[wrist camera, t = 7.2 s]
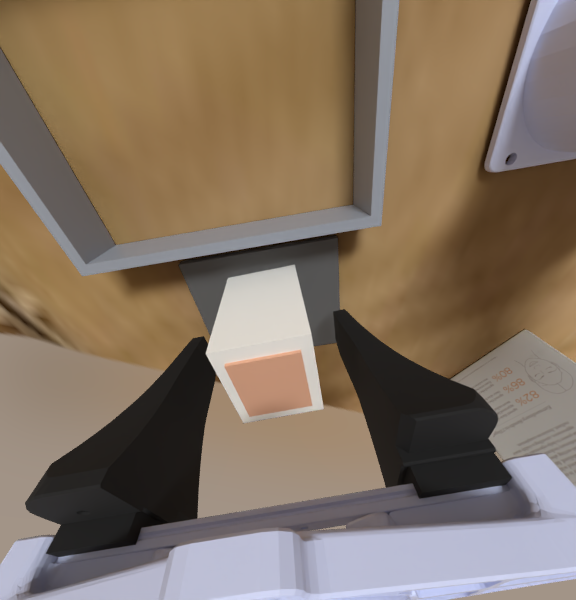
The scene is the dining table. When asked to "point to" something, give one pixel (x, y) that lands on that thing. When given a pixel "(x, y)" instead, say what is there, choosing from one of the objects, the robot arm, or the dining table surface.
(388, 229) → the dining table surface
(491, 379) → the small box
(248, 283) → the block
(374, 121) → the grey rectangular frame
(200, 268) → the mat
